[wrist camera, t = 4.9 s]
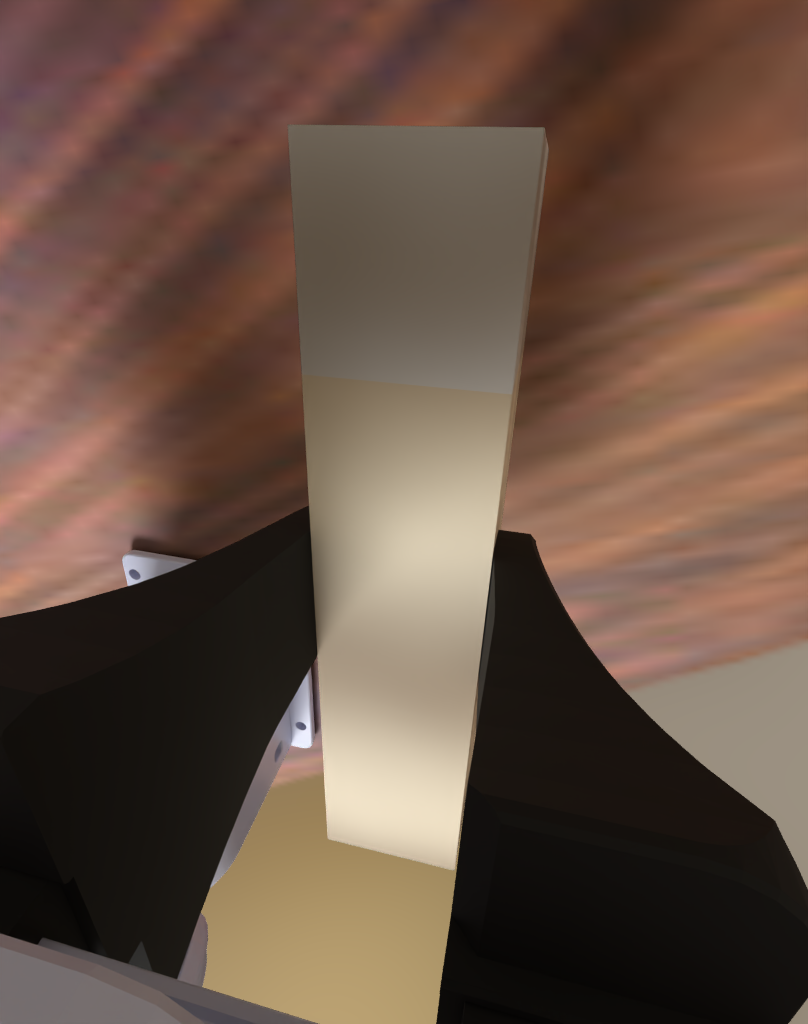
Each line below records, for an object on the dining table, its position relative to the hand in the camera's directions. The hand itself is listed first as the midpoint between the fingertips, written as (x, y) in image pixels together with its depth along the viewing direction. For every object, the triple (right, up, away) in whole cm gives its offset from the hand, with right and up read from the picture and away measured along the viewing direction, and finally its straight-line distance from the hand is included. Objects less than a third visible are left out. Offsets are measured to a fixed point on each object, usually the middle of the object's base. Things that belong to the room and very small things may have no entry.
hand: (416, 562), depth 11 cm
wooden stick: (0, +1, +2) cm, 2 cm away
